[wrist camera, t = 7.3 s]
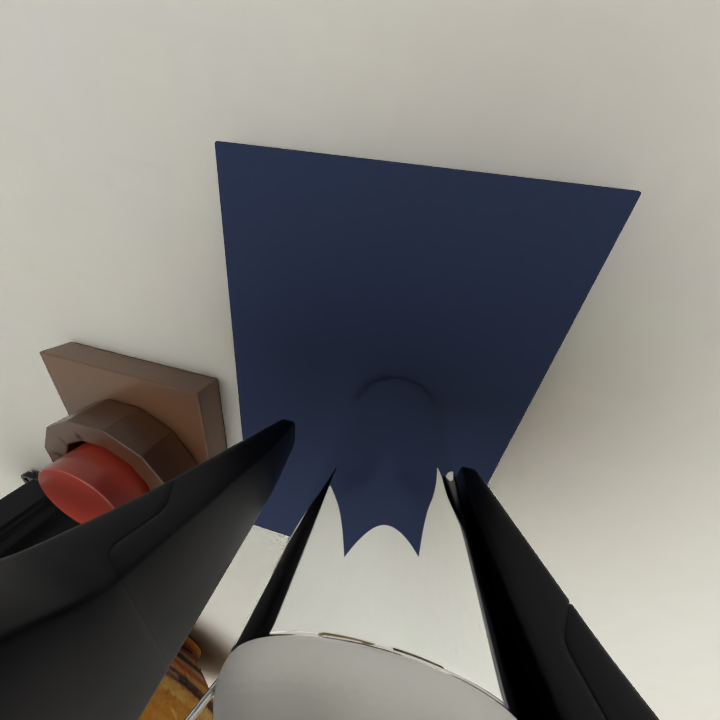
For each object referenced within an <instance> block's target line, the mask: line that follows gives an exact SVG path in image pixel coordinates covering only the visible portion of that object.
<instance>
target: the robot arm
mask: <svg viewBox="0 0 720 720" xmlns="http://www.w3.org/2000/svg"><path fill="white" fill-rule="evenodd" d="M294 443H295V423H294V422H293V421H290V420H286V419H282V420H280V421H278V422H276V423H274V424H273V425H271V426H269V427H267V428H265V429H263V430H262V431H260V432H258V433H256V434H254V435H252V436H250V437H249V438H247V439H245V440H243V441H241V442H239V443H238V444H236V445H234V446H232V447H230V448H228V449H227V450H225V451H223V452H221V453H219V454H217V455H216V456H214V457H212V458H210V459H208V460H206V461H204V462H203V463H201V464H199V465H197V466H195V467H193V468H192V469H190V470H188V471H186V472H184V473H182V474H181V475H179V476H177V477H176V478H175V480H174V479H171V480H169V481H168V482H166V483H164V484H162V485H160V486H158V487H156V488H154V489H153V490H151V491H149V492H147V493H145V494H143V495H141V496H139V497H137V498H135V499H133V500H131V501H129V502H127V503H125V504H123V505H121V506H119V507H117V508H115V509H113V510H110V511H108V512H106V513H104V514H102V515H100V516H98V517H95V518H93V519H91V520H89V521H87V522H85V523H82V524H80V523H79V522H77V521H75V520H74V519H72V518H71V517H69V516H68V515H67V514H65V513H64V512H63V511H61V510H60V509H59V508H58V507H57V506H56V505H55V504H54V503H53V502H52V501H51V500H50V499H49V498H48V497H47V496H46V494H45V493H44V491H43V490H42V488H41V486H40V484H39V481H38V474H35V473H33V472H29V471H28V472H26V473H24V474H23V475H21V478H22V479H23V481H24V482H25V484H24V485H23V486H21V487H19V488H18V489H16V490H15V491H13V492H11V493H10V494H8V495H7V496H5V497H4V498H2V499H0V720H139V718H140V716H141V715H142V713H143V711H144V710H145V708H146V706H147V705H148V703H149V701H150V699H151V698H152V696H153V694H154V693H155V691H156V689H157V688H158V686H159V684H160V682H161V681H162V679H163V677H164V676H165V674H166V672H167V671H168V669H169V665H171V663H172V662H173V660H174V658H175V657H176V655H177V653H178V652H179V650H180V648H181V646H182V645H183V643H184V641H185V640H186V638H187V636H188V635H189V633H190V631H191V629H192V628H193V626H194V624H195V623H196V621H197V619H198V618H199V616H200V614H201V612H202V611H203V609H204V607H205V606H206V604H207V602H208V601H209V599H210V597H211V596H212V594H213V592H214V590H215V589H216V587H217V585H218V584H219V582H220V580H221V579H222V577H223V575H224V573H225V572H226V570H227V568H228V567H229V565H230V563H231V562H232V560H233V558H234V556H235V555H236V553H237V551H238V550H239V548H240V546H241V545H242V543H243V541H244V540H245V538H246V536H247V534H248V533H249V531H250V529H251V528H252V526H253V524H254V523H255V521H256V519H257V517H258V516H259V514H260V512H261V511H262V509H263V507H264V506H265V504H266V502H267V500H268V499H269V497H270V495H271V493H272V492H273V490H274V488H275V486H276V484H277V482H278V479H279V477H280V475H281V473H282V471H283V468H284V466H285V464H286V462H287V460H288V457H289V455H290V453H291V451H292V448H293V446H294ZM456 480H457V484H458V488H459V492H460V495H461V499H462V503H463V507H464V510H465V514H466V518H467V522H468V526H469V529H470V533H471V536H472V540H473V543H474V547H475V550H476V554H477V557H478V560H479V564H480V567H481V571H482V574H483V577H484V581H485V584H486V587H487V591H488V594H489V597H490V601H491V604H492V607H493V611H494V614H495V617H496V621H497V624H498V627H499V631H500V634H501V637H502V641H503V644H504V647H505V651H506V654H507V657H508V661H509V664H510V667H511V671H512V674H513V677H514V681H515V684H516V687H517V691H518V694H519V697H520V701H521V704H522V707H523V711H524V714H525V717H526V720H659V718H658V717H657V716H656V715H655V713H654V712H653V711H652V710H651V708H650V707H649V706H648V705H647V703H646V702H645V701H644V700H643V698H642V697H641V696H640V695H639V693H638V692H637V691H636V689H635V688H634V687H633V686H632V684H631V683H630V682H629V680H628V679H627V678H626V676H625V675H624V674H623V673H622V671H621V670H620V669H619V667H618V666H617V665H616V664H615V662H614V661H613V660H612V658H611V657H610V656H609V654H608V653H607V652H606V650H605V649H604V648H603V646H602V645H601V644H600V642H599V641H598V639H597V638H596V637H595V635H594V634H593V633H592V631H591V630H590V629H589V627H588V626H587V625H586V623H585V622H584V620H583V619H582V618H581V616H580V615H579V613H578V612H577V610H576V609H575V608H574V606H573V605H572V604H569V600H568V598H567V597H566V595H565V594H564V592H563V591H562V590H561V588H560V587H559V585H558V584H557V583H556V581H555V580H554V578H553V577H552V576H551V574H550V573H549V571H548V570H547V569H546V567H545V566H544V564H543V563H542V562H541V560H540V559H539V557H538V556H537V555H536V553H535V552H534V550H533V549H532V548H531V546H530V545H529V543H528V542H527V541H526V539H525V538H524V536H523V535H522V534H521V532H520V531H519V529H518V528H517V527H516V525H515V524H514V522H513V521H512V520H511V518H510V517H509V515H508V514H507V513H506V511H505V510H504V508H503V507H502V506H501V504H500V503H499V501H498V500H497V499H496V497H495V496H494V494H493V493H492V492H491V490H490V489H489V487H488V486H487V484H486V483H485V482H484V480H483V479H482V477H481V476H480V475H479V473H478V472H477V471H476V470H475V469H472V468H468V467H461V468H460V470H459V472H458V474H457V477H456Z"/></svg>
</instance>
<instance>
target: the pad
mask: <svg viewBox="0 0 720 720" xmlns="http://www.w3.org/2000/svg"><path fill="white" fill-rule="evenodd" d="M215 150H216V161H217V171H218V182H219V192H220V203H221V213H222V224H223V235H224V245H225V256H226V266H227V277H228V288H229V298H230V309H231V319H232V330H233V340H234V351H235V362H236V372H237V383H238V393H239V404H240V415H241V425H242V436H243V440H245V439H247V438H249V437H250V436H252V435H254V434H256V433H258V432H260V431H262V430H263V429H265V428H267V427H269V426H271V425H273V424H274V423H276V422H278V421H280V420H282V419H286V420H290V421H293V422H294V423H295V443H294V446H293V448H292V451H291V453H290V455H289V457H288V460H287V462H286V464H285V466H284V468H283V471H282V473H281V475H280V477H279V479H278V482H277V484H276V486H275V488H274V490H273V492H272V493H271V495H270V497H269V499H268V500H267V502H266V504H265V506H264V507H263V509H262V511H261V512H260V514H259V516H258V517H257V519H256V521H255V523H254V524H253V525H256V526H259V527H262V528H266V529H269V530H272V531H275V532H278V533H281V534H284V535H287V536H290V535H291V533H292V531H293V529H294V528H295V526H296V524H297V522H298V520H299V518H300V516H301V514H302V512H303V510H304V508H305V506H306V504H307V502H308V500H309V498H310V496H311V494H312V492H313V490H314V488H315V485H316V483H317V481H318V479H319V477H320V475H321V473H322V471H323V469H324V467H325V465H326V462H327V460H328V458H329V456H330V454H331V452H332V450H333V448H334V446H335V444H336V442H337V440H338V438H339V436H340V433H341V431H342V429H343V427H344V425H345V423H346V421H347V419H348V417H349V415H350V413H351V411H352V409H353V407H354V404H355V402H356V401H357V399H358V398H359V397H360V395H361V394H362V393H363V392H364V391H365V390H366V389H367V388H368V386H369V385H370V384H371V383H372V382H376V381H381V380H385V379H390V378H395V377H398V378H401V379H404V380H407V381H409V382H412V383H415V384H418V385H421V386H422V387H423V388H424V390H425V391H426V392H427V394H428V395H429V397H430V398H431V399H432V401H433V402H434V404H435V405H436V407H437V410H438V414H439V418H440V421H441V425H442V429H443V432H444V436H445V440H446V444H447V447H448V451H449V455H450V458H451V462H452V466H453V469H454V473H455V477H457V474H458V472H459V470H460V468H461V467H468V468H472V469H475V470H476V471H477V472H478V473H479V475H480V476H481V477H482V479H483V480H484V482H485V483H486V484H488V482H489V480H490V478H491V476H492V474H493V472H494V470H495V469H496V467H497V465H498V463H499V461H500V459H501V457H502V455H503V453H504V452H505V450H506V448H507V446H508V444H509V442H510V440H511V438H512V437H513V435H514V433H515V431H516V429H517V427H518V425H519V423H520V421H521V420H522V418H523V416H524V414H525V412H526V410H527V408H528V406H529V404H530V403H531V401H532V399H533V397H534V395H535V393H536V391H537V389H538V387H539V386H540V384H541V382H542V380H543V378H544V376H545V374H546V372H547V370H548V369H549V367H550V365H551V363H552V361H553V359H554V357H555V355H556V353H557V352H558V350H559V348H560V346H561V344H562V342H563V340H564V338H565V336H566V335H567V333H568V331H569V329H570V327H571V325H572V323H573V321H574V319H575V318H576V316H577V314H578V312H579V310H580V308H581V306H582V304H583V302H584V301H585V299H586V297H587V295H588V293H589V291H590V289H591V287H592V285H593V284H594V282H595V280H596V278H597V276H598V274H599V272H600V270H601V268H602V267H603V265H604V263H605V261H606V259H607V257H608V255H609V253H610V251H611V250H612V248H613V246H614V244H615V242H616V240H617V238H618V236H619V234H620V233H621V231H622V229H623V227H624V225H625V223H626V221H627V219H628V217H629V216H630V214H631V212H632V210H633V208H634V206H635V204H636V202H637V200H638V199H639V197H640V195H641V192H640V191H635V190H626V189H618V188H610V187H601V186H593V185H584V184H576V183H567V182H559V181H550V180H542V179H534V178H525V177H517V176H508V175H500V174H491V173H483V172H474V171H466V170H458V169H449V168H441V167H432V166H424V165H415V164H407V163H398V162H390V161H382V160H373V159H365V158H356V157H348V156H339V155H331V154H322V153H314V152H306V151H297V150H289V149H280V148H272V147H263V146H255V145H246V144H238V143H229V142H221V141H216V142H215Z"/></svg>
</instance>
